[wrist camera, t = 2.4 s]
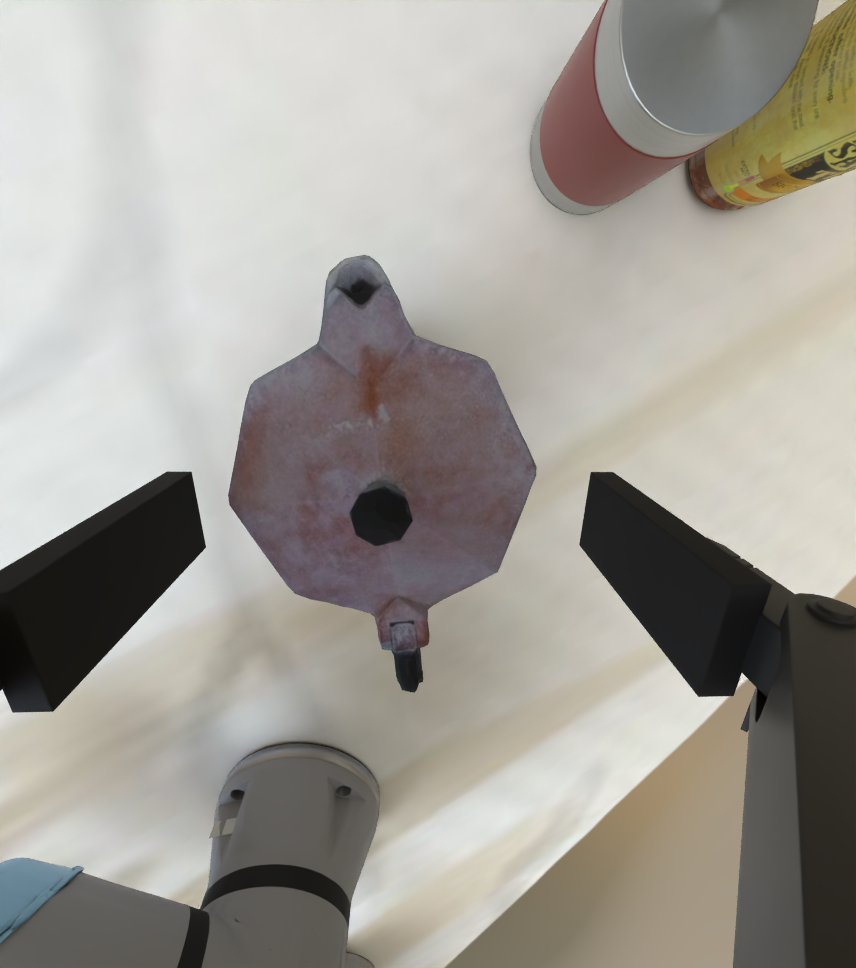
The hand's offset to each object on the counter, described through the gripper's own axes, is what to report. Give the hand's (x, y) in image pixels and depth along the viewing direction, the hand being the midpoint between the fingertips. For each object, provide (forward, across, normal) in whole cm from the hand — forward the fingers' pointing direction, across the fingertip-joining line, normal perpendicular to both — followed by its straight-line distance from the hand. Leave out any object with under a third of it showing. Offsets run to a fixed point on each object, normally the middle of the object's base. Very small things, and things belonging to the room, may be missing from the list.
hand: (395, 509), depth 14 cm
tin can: (+16, -11, -16) cm, 25 cm away
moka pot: (+16, 0, 0) cm, 16 cm away
